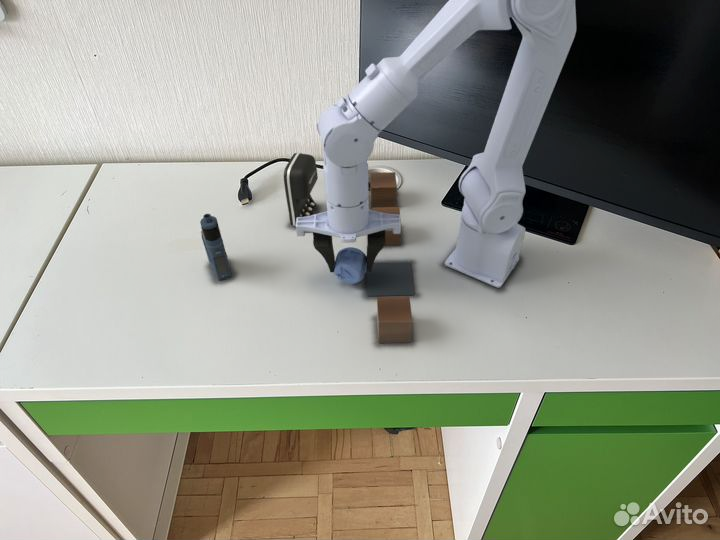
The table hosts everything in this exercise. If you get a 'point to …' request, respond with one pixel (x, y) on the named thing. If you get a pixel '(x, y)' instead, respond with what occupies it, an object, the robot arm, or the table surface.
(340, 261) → the decorative dice
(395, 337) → the block near
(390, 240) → the block mid
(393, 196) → the block far
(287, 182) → the battery charger
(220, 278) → the vaping device
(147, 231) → the table surface
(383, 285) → the pad
